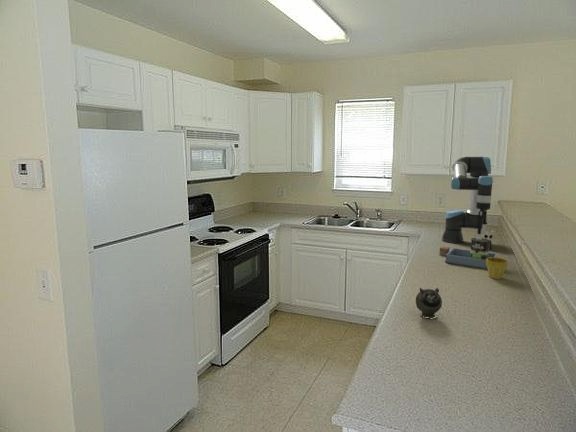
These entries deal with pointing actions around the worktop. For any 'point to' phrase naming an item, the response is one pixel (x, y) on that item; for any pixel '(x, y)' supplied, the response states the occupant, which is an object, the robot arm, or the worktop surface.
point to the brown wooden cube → (444, 250)
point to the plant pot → (496, 267)
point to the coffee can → (479, 248)
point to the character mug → (489, 236)
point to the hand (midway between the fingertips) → (480, 237)
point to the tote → (466, 258)
